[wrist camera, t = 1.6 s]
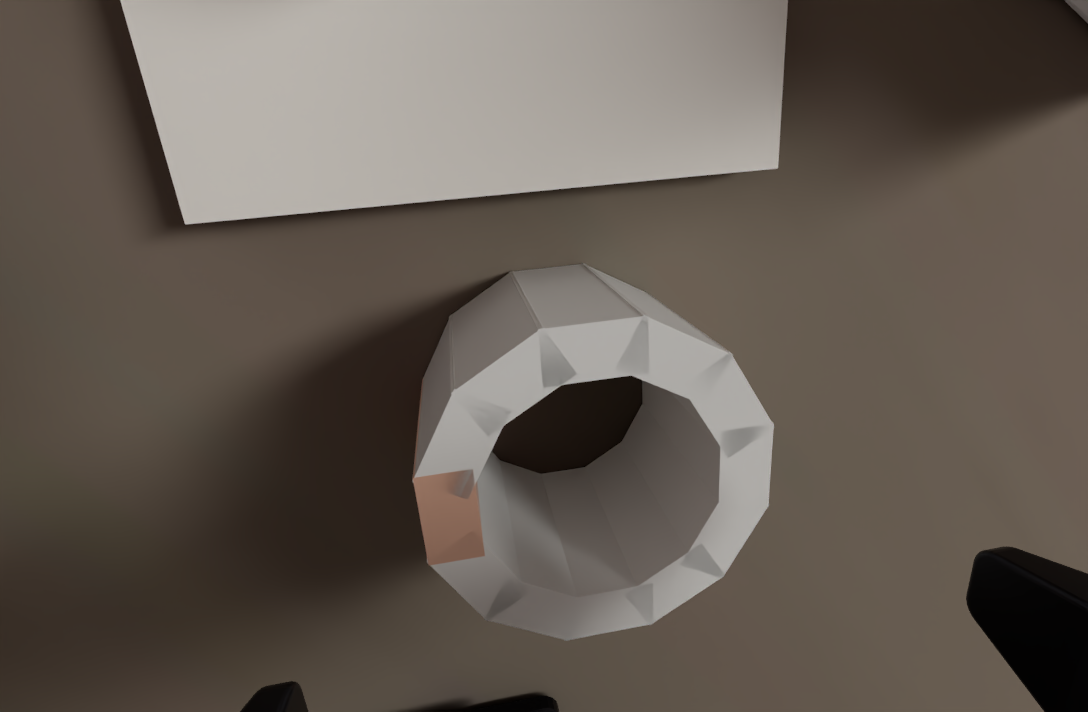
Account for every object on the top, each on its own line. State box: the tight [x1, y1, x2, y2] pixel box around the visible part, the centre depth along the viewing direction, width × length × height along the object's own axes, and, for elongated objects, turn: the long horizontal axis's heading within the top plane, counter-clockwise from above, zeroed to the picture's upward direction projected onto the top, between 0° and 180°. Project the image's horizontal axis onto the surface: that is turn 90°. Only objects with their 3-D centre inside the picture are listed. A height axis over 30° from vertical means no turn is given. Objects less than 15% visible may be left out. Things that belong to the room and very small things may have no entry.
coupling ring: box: [412, 263, 774, 641], centre depth 12 cm, size 6×6×4 cm
